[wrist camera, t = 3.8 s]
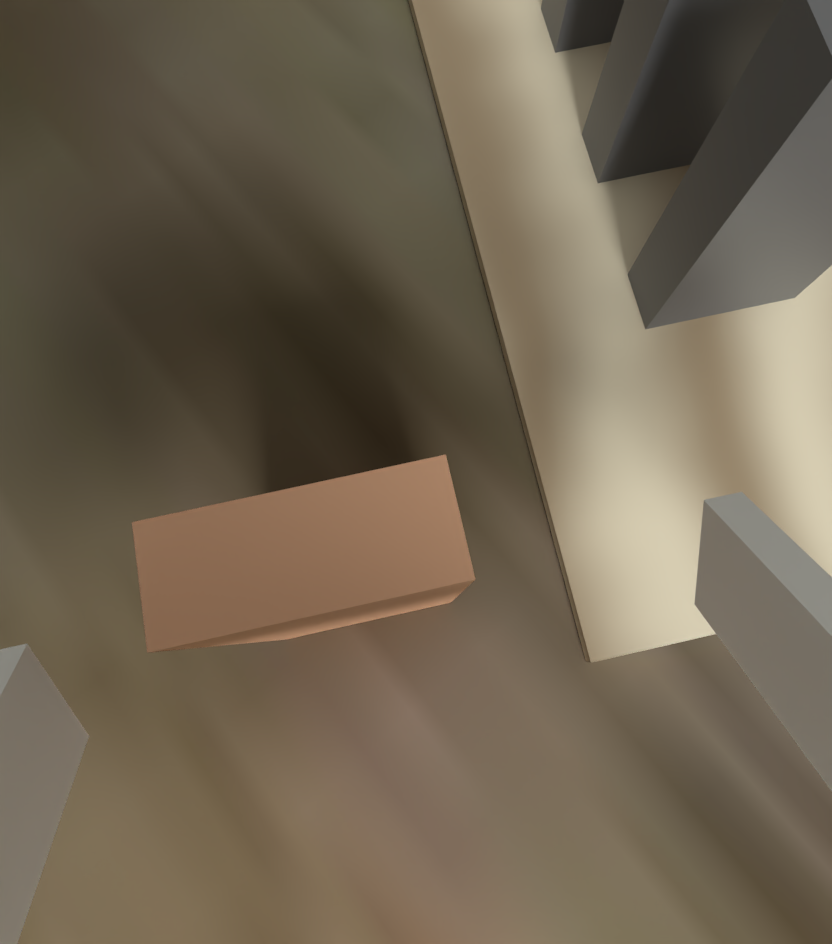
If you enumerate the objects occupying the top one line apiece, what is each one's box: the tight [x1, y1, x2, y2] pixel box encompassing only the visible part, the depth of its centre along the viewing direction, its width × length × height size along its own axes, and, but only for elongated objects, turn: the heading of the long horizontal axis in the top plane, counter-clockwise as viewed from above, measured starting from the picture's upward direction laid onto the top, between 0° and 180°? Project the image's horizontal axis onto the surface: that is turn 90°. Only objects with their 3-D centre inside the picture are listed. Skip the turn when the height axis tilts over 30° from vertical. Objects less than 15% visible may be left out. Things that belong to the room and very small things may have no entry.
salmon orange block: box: [132, 455, 475, 653], centre depth 15 cm, size 2×5×10 cm, turn 102°
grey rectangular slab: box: [582, 0, 785, 183], centre depth 18 cm, size 2×5×10 cm, turn 102°
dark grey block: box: [627, 0, 832, 329], centre depth 16 cm, size 2×5×10 cm, turn 102°
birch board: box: [408, 0, 832, 663], centre depth 22 cm, size 14×25×1 cm, turn 12°
